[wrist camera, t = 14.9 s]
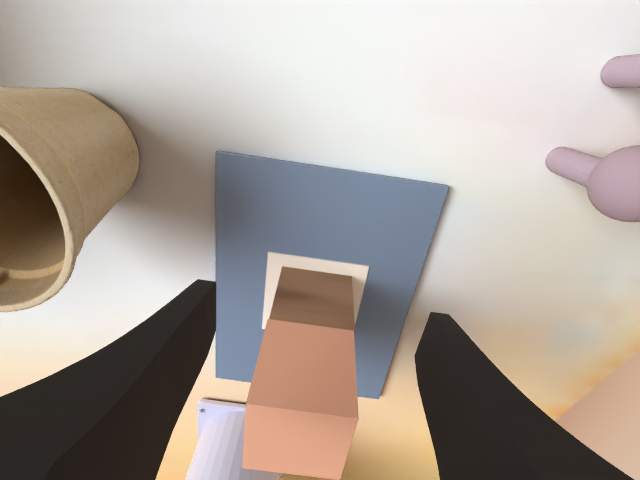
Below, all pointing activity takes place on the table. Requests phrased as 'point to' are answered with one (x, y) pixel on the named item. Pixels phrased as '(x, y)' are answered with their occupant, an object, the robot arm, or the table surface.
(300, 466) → the terracotta block
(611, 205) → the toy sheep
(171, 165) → the table surface
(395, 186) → the board
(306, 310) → the walnut block
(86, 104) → the flower pot
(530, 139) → the table surface
